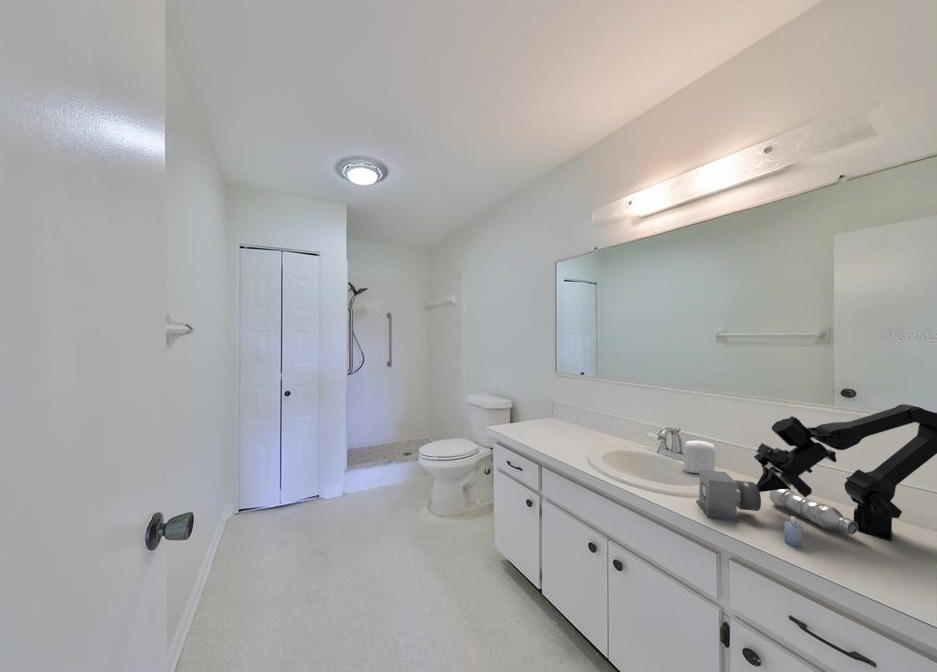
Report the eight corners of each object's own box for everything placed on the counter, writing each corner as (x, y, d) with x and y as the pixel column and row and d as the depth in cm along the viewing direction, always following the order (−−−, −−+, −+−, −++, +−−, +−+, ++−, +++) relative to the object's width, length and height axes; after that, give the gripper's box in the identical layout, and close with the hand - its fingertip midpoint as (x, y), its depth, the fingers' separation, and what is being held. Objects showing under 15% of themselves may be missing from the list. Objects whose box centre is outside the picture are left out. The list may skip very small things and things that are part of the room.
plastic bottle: (785, 496, 113) (865, 530, 94) (770, 507, 112) (848, 545, 93) (778, 479, 113) (857, 510, 93) (762, 490, 112) (839, 525, 92)
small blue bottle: (802, 544, 91) (802, 517, 91) (799, 549, 89) (800, 521, 89) (785, 538, 93) (786, 512, 93) (783, 543, 91) (783, 516, 91)
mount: (725, 505, 111) (725, 471, 111) (739, 522, 101) (740, 484, 101) (696, 502, 113) (696, 468, 113) (708, 517, 103) (708, 481, 103)
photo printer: (712, 471, 137) (712, 440, 137) (716, 476, 133) (716, 444, 133) (682, 468, 140) (682, 438, 140) (685, 472, 136) (685, 441, 136)
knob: (747, 503, 108) (748, 477, 108) (761, 516, 101) (761, 489, 100) (699, 497, 112) (699, 472, 112) (708, 509, 104) (709, 483, 104)
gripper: (762, 427, 111) (720, 458, 115) (799, 446, 93) (749, 482, 97) (791, 455, 109) (748, 485, 113) (834, 479, 91) (782, 514, 95)
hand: (755, 490), depth 104 cm, fingers closed, pressing on knob
